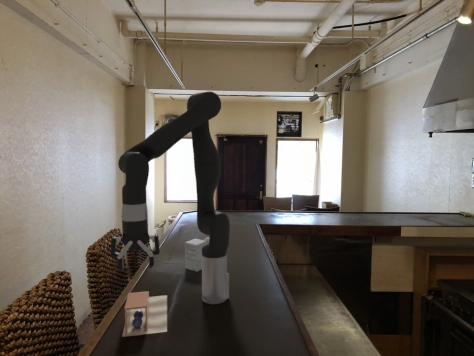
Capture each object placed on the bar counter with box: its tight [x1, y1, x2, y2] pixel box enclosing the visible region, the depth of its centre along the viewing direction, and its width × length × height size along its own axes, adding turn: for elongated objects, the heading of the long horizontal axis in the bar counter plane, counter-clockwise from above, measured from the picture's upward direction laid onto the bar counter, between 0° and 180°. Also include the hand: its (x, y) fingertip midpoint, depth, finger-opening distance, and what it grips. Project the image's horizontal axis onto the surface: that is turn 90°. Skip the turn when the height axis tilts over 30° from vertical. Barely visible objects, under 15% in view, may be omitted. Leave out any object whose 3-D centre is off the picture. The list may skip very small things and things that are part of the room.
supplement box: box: [184, 238, 207, 272], centre depth 150 cm, size 7×7×13 cm
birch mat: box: [121, 295, 168, 338], centre depth 108 cm, size 24×13×1 cm, turn 12°
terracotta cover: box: [124, 290, 150, 334], centre depth 102 cm, size 10×6×8 cm, turn 12°
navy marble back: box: [134, 310, 143, 319], centre depth 104 cm, size 3×3×3 cm
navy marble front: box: [132, 317, 142, 328], centre depth 100 cm, size 3×3×3 cm
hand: (136, 268), depth 100 cm, fingers open, 8 cm apart
